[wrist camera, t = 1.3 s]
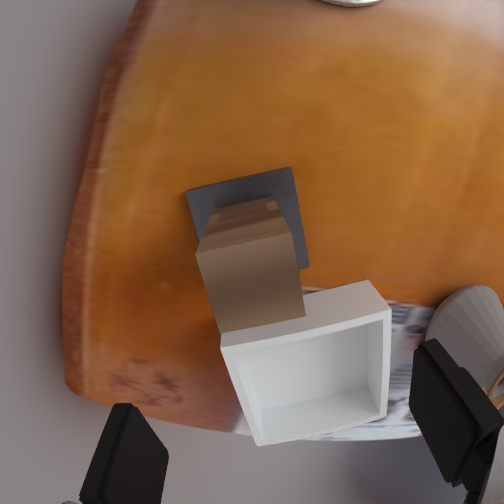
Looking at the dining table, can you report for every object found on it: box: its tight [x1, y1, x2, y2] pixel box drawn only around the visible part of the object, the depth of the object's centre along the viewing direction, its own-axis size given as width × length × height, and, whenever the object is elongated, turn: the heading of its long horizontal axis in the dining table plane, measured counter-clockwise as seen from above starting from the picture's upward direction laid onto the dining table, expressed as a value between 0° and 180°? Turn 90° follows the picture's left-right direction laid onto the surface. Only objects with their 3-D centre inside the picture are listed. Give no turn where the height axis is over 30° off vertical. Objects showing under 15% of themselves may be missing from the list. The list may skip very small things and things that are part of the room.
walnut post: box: [195, 196, 306, 334], centre depth 22 cm, size 5×5×11 cm
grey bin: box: [220, 280, 391, 446], centre depth 30 cm, size 15×15×6 cm
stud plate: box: [185, 167, 309, 270], centre depth 26 cm, size 9×9×5 cm
